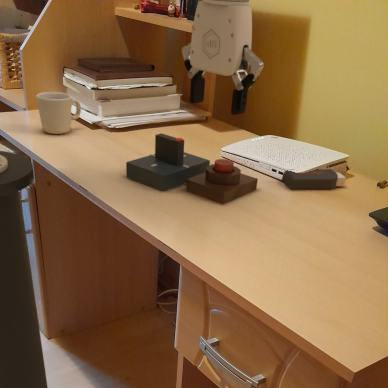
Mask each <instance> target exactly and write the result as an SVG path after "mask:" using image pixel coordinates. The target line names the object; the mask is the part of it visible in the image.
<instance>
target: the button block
mask: <svg viewBox="0 0 388 388" xmlns="http://www.w3.org/2000/svg"><path fill="white" fill-rule="evenodd" d="M214 164H215V163H214ZM214 164H213V163H212V164H210V166H207V168H206V172H205V173H202V174H200V175H197V176H194V177H191V178H188V179H186V183H185V191H186V192H189V193H191V194H194V195H197V196H199V197H203V198H205V199H208V200H211V201H214V202H216V203H219V204H222V205H224V204H227V203H229V202H231V201H234V200H236V199H238V198H241V197H243V196H245V195H247V194H249V193H252V192H254V191H257V188H258V181H259V179H258V178H257V177H255V176H250V175H248V174H245V173H242V170H241V169H240V168H239V167H238V166H235V165H233V172H232V173H218V172H215V171H214Z"/></svg>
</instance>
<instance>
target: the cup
mask: <svg viewBox="0 0 388 388" xmlns="http://www.w3.org/2000/svg"><path fill="white" fill-rule="evenodd" d="M35 98H36V104H37V109H38V113H39V119H40V123H41V127H42V129H43V131H44V132H45V133H48V134H53V135H60V134H61V135H63V134H66V133H69V131H70V130H71V126H72V121H74V120H77V119H79V117H80V116H81V113H82V107H81V102H80V101H79V100H78V99H77V98H74V97H72V95H71V94H69V93H65V92H59V91H43V92H39V93H37V94H36V95H35ZM73 104H75V108H76V109H75V113H74V114H72V106H73Z"/></svg>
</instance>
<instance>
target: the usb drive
mask: <svg viewBox="0 0 388 388" xmlns="http://www.w3.org/2000/svg"><path fill="white" fill-rule="evenodd" d="M288 170H289V169H286V170H285V171H284V172H283V173H282V177H281V181H282V182H283V184H285V186H286V187H287V188H288V189H289V190H290V191H304V190H305V191H307V190H309V191H311V190H313V191H314V190H334V189H336V187H345V183H346V179H347V177H346V176H344V175H343V174H342V173H341V172H340V171H337V172H336V171H334V169H332V168H324V169H322V168H321V169H319V168H318V170H313V171H309V172H305V173H295V172H292V171H288Z"/></svg>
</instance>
